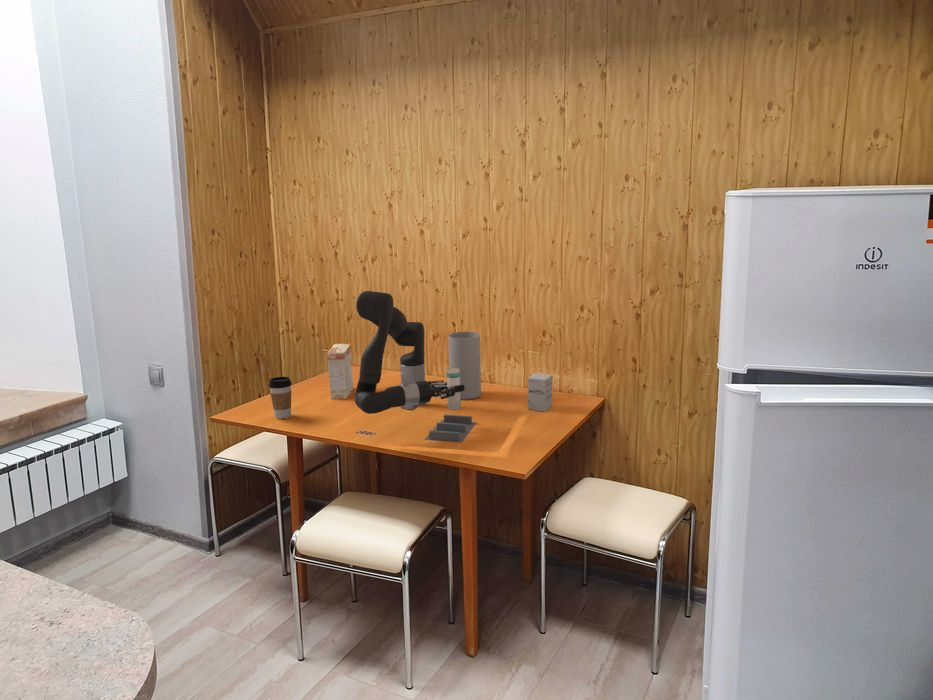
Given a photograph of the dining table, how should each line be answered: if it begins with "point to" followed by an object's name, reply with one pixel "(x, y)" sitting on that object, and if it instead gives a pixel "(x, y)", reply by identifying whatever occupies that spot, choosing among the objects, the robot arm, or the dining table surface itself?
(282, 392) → the coffee cup
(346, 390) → the coffeecake box
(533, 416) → the dining table surface
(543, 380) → the supplement box
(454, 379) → the white bottle teal band
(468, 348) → the cylinder vase
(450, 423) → the grey twin-rail base
